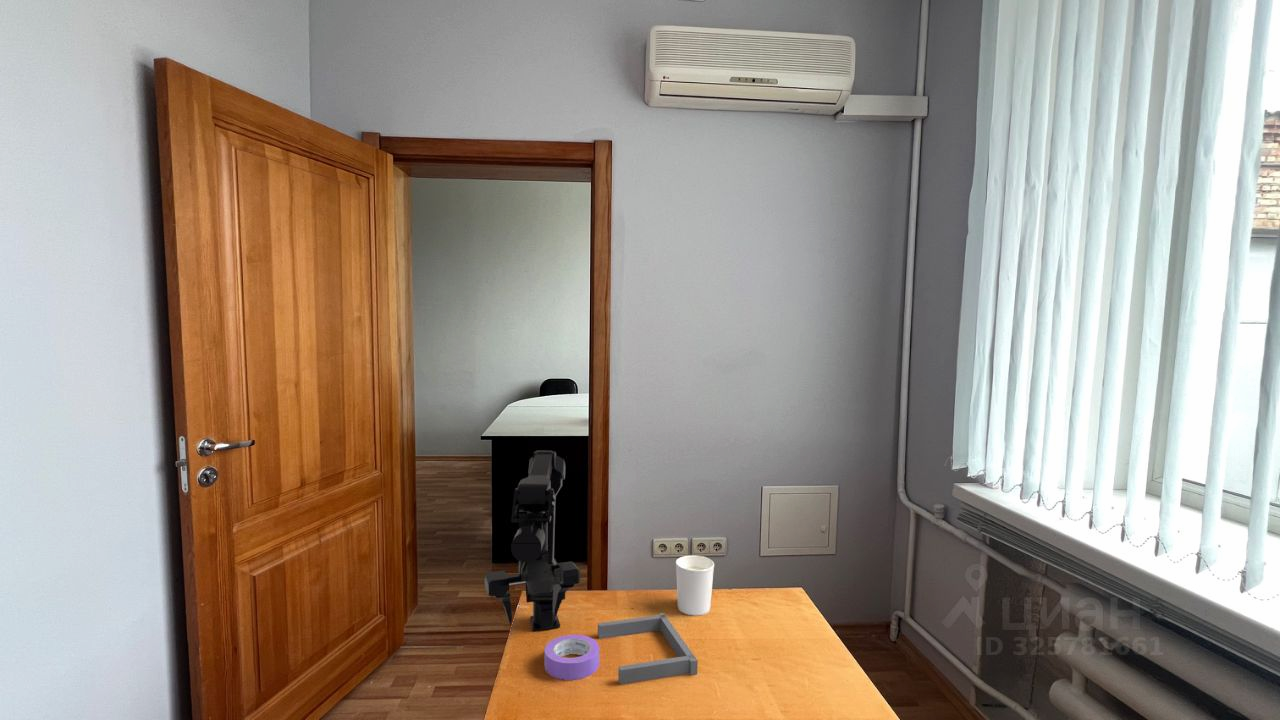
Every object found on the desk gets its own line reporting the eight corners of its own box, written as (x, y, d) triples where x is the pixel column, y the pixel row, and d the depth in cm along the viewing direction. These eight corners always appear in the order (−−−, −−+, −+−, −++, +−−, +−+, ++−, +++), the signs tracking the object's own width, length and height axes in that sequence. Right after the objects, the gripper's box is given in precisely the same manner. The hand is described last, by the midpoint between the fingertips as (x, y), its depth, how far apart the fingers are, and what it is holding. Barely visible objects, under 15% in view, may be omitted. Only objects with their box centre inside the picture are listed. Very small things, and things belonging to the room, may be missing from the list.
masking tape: (536, 658, 134) (536, 641, 134) (585, 645, 140) (585, 629, 140) (556, 687, 124) (556, 668, 124) (608, 671, 130) (608, 654, 129)
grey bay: (597, 634, 144) (597, 621, 144) (663, 624, 149) (663, 613, 149) (621, 686, 124) (621, 672, 124) (697, 674, 129) (697, 660, 129)
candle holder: (711, 619, 153) (712, 572, 152) (672, 614, 154) (673, 568, 154) (714, 601, 162) (715, 557, 161) (677, 597, 164) (678, 553, 163)
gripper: (493, 564, 114) (493, 646, 115) (589, 551, 122) (588, 628, 122) (484, 544, 125) (484, 619, 125) (573, 534, 132) (572, 605, 133)
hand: (532, 618), depth 126 cm, fingers open, 9 cm apart
